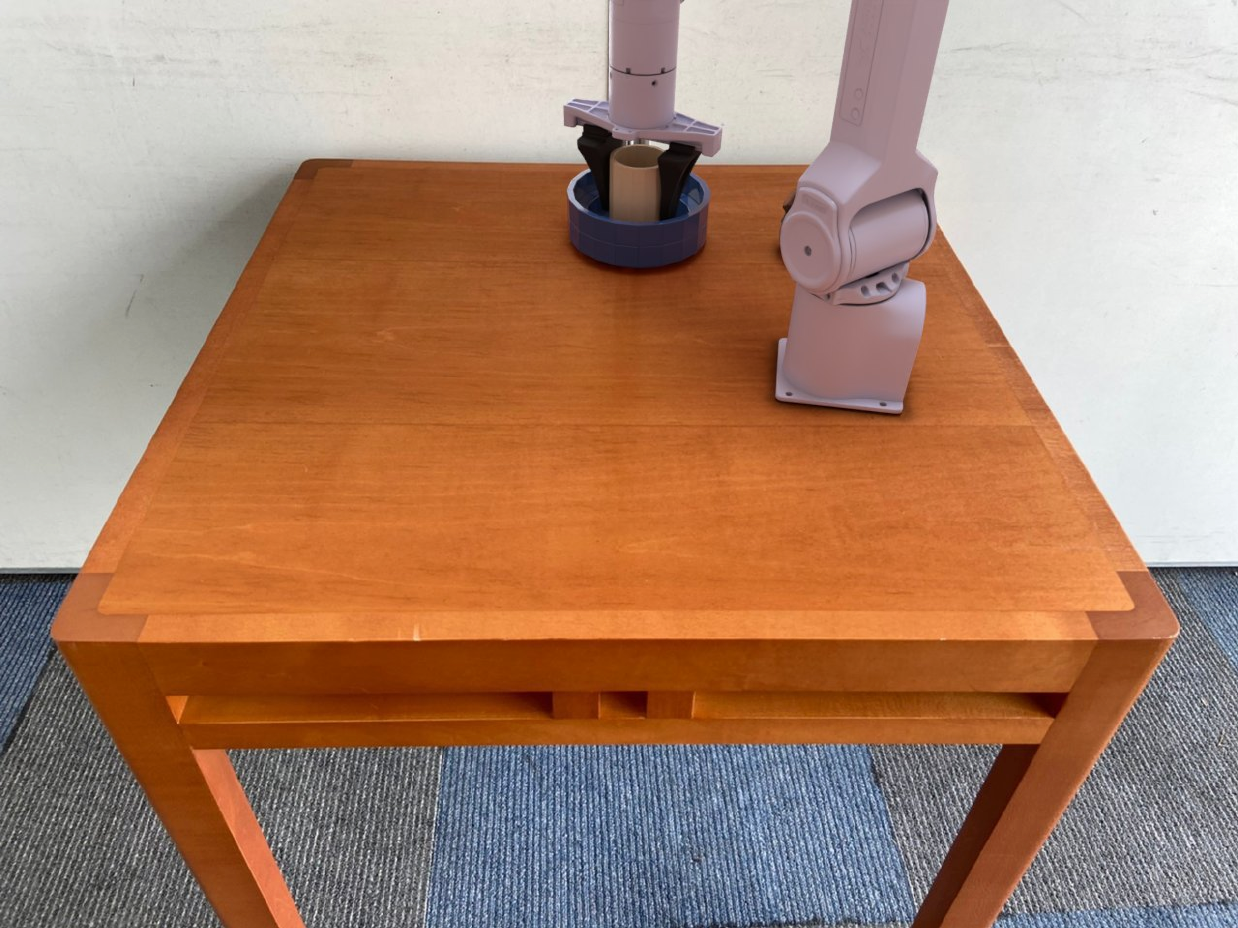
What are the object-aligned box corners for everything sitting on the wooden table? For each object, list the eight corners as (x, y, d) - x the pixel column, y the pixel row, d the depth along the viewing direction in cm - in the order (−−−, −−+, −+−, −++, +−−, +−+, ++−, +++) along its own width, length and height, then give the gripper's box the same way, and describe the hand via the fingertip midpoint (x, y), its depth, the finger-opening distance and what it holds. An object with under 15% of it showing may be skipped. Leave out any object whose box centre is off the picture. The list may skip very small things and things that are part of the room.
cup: (674, 226, 88) (679, 151, 82) (651, 251, 84) (655, 174, 79) (624, 214, 89) (625, 140, 84) (599, 238, 86) (599, 162, 81)
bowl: (711, 214, 91) (715, 166, 88) (698, 281, 82) (703, 231, 78) (583, 202, 93) (582, 155, 89) (555, 267, 83) (553, 217, 80)
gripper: (544, 64, 76) (550, 214, 85) (705, 94, 71) (693, 249, 80) (583, 39, 80) (584, 184, 90) (736, 67, 76) (721, 216, 85)
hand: (638, 213), depth 85 cm, fingers closed on cup, 5 cm apart
